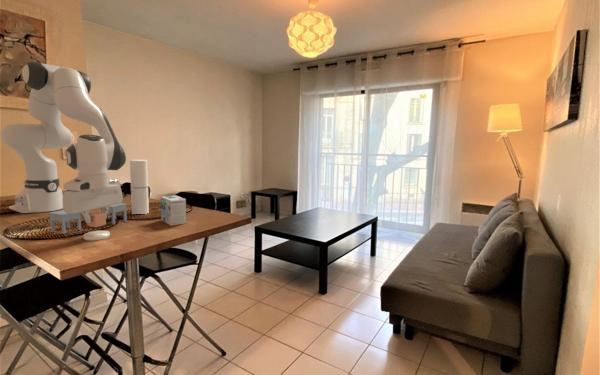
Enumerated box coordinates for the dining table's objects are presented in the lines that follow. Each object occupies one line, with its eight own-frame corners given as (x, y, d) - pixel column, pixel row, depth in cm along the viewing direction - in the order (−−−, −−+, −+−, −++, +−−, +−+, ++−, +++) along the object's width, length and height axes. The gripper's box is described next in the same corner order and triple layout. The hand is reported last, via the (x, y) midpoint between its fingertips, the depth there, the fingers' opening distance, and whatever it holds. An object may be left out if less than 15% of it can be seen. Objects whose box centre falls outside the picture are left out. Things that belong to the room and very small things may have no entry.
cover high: (101, 222, 129) (100, 205, 128) (115, 219, 135) (114, 202, 134) (113, 224, 127) (112, 206, 126) (126, 220, 133) (126, 203, 132)
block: (87, 225, 110) (86, 214, 109) (97, 223, 114) (97, 212, 113) (95, 227, 109) (95, 216, 108) (106, 224, 112) (105, 213, 112)
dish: (77, 238, 109) (77, 235, 109) (98, 232, 117) (98, 229, 117) (95, 241, 107) (95, 238, 107) (115, 235, 114) (115, 232, 114)
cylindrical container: (141, 215, 143) (140, 161, 139) (128, 214, 144) (126, 160, 140) (152, 212, 150) (150, 160, 146) (139, 210, 151) (137, 159, 147)
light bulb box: (160, 220, 137) (160, 196, 135) (176, 218, 141) (175, 194, 140) (171, 226, 129) (170, 200, 128) (186, 223, 134) (186, 198, 132)
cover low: (68, 228, 120) (67, 209, 119) (81, 230, 118) (80, 211, 117) (51, 232, 114) (49, 212, 113) (63, 235, 112) (62, 214, 111)
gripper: (113, 178, 119) (114, 213, 122) (57, 184, 100) (60, 226, 102) (125, 179, 118) (127, 215, 120) (72, 186, 98) (75, 228, 100)
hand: (96, 220), depth 111 cm, fingers closed on block, 4 cm apart
